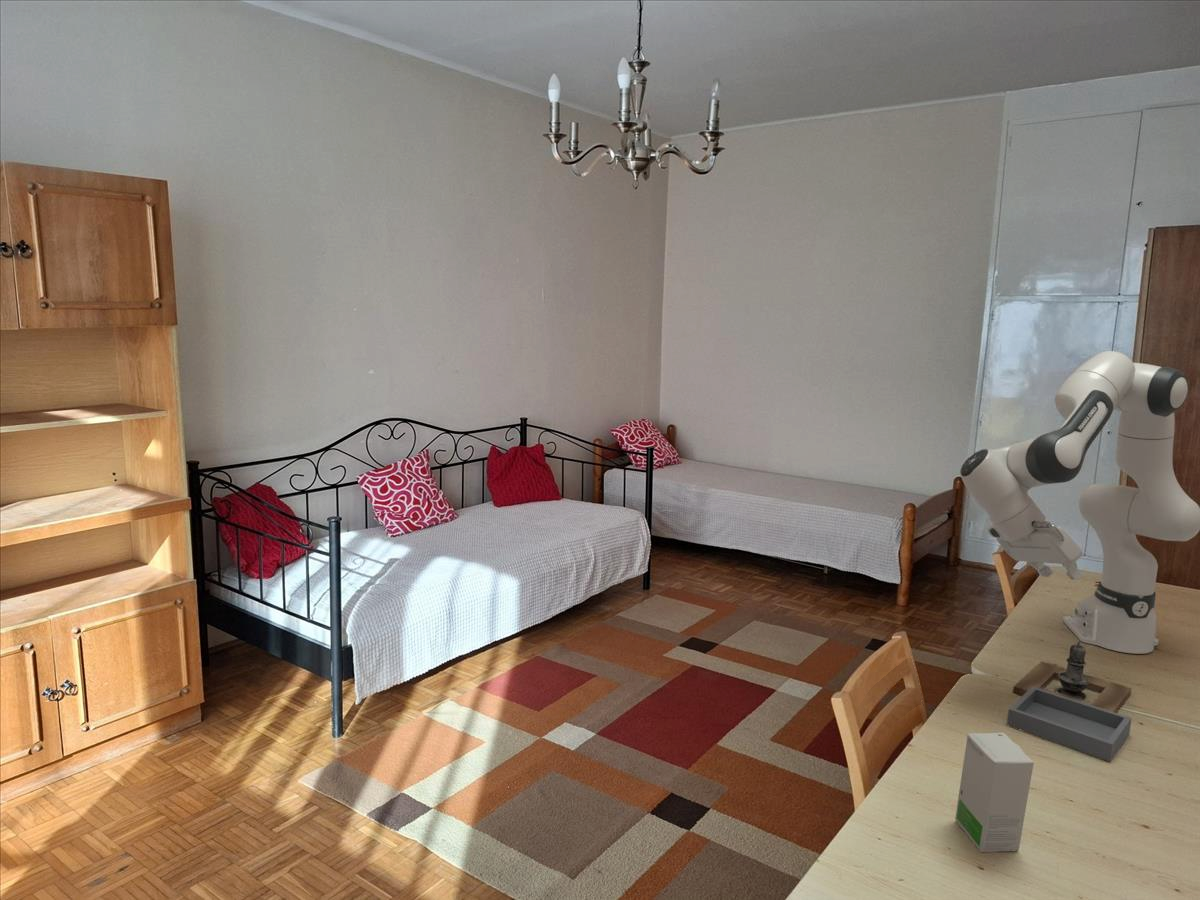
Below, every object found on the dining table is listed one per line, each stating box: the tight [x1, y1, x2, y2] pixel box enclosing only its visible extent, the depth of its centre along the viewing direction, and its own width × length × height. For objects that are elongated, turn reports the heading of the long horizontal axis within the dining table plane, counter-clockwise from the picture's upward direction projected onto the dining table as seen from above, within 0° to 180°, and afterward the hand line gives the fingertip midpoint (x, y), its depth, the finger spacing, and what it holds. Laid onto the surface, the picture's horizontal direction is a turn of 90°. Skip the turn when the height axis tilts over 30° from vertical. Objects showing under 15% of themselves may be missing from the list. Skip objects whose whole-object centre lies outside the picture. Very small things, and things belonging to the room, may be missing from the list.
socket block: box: [1012, 661, 1132, 713], centre depth 178 cm, size 18×18×2 cm
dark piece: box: [1057, 640, 1090, 700], centre depth 177 cm, size 6×6×12 cm
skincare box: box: [954, 732, 1035, 853], centre depth 128 cm, size 8×7×16 cm
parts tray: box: [1006, 686, 1133, 763], centre depth 162 cm, size 18×14×4 cm
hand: (1062, 576), depth 169 cm, fingers open, 8 cm apart
